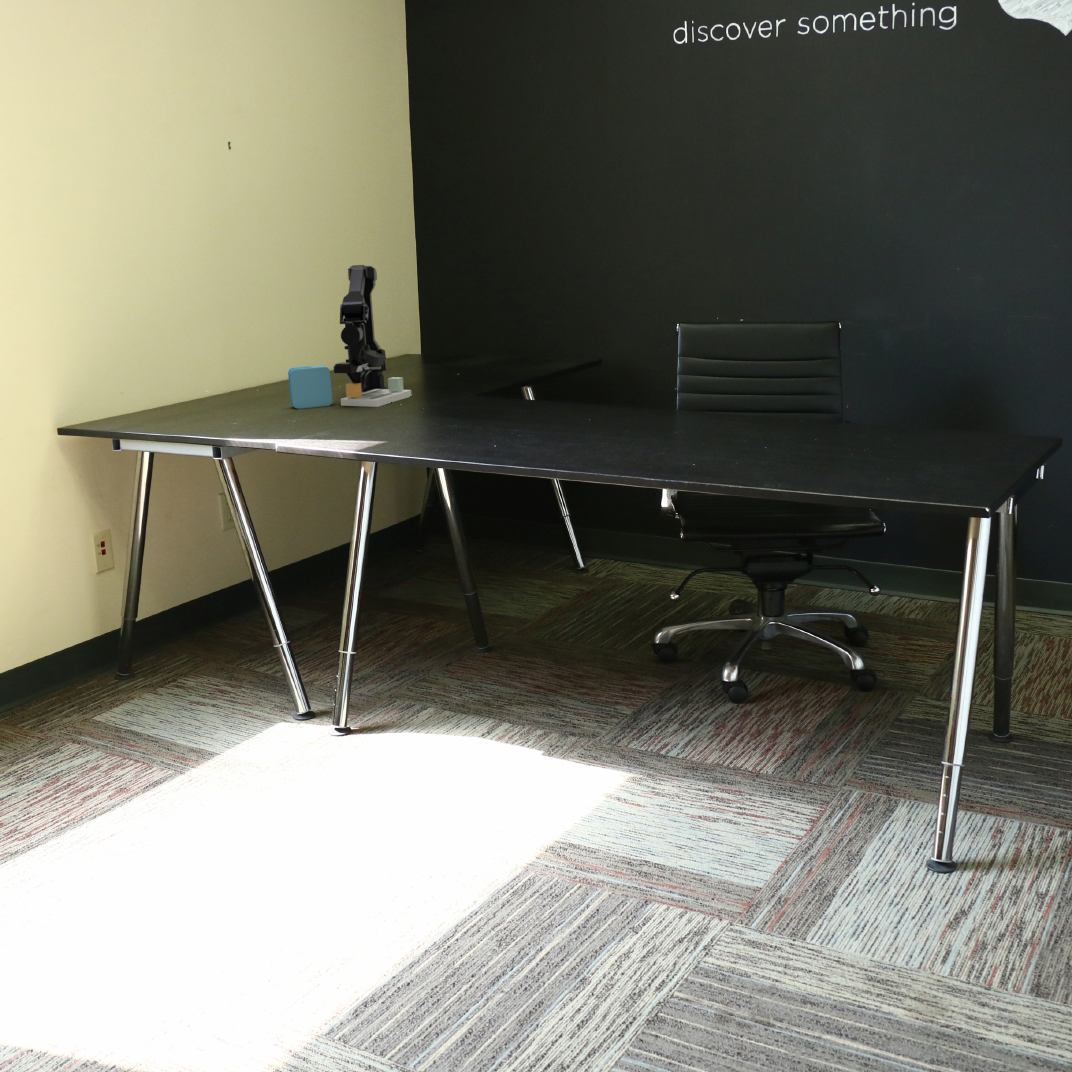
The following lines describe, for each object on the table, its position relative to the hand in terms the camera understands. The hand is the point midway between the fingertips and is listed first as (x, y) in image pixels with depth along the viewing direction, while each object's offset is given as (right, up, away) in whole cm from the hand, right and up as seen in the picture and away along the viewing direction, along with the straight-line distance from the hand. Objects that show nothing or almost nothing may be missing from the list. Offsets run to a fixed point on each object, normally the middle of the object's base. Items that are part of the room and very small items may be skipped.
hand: (360, 393), depth 360 cm
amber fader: (-1, -1, -3) cm, 4 cm away
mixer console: (+5, -2, +2) cm, 6 cm away
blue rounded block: (-14, -5, -3) cm, 15 cm away
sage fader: (+10, +1, +6) cm, 12 cm away
